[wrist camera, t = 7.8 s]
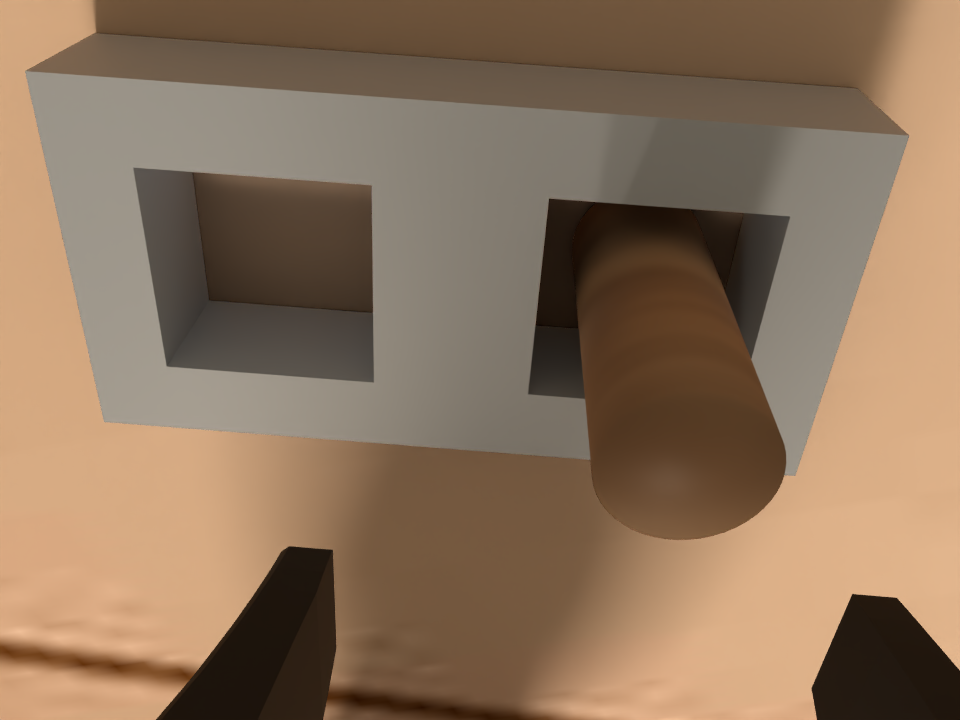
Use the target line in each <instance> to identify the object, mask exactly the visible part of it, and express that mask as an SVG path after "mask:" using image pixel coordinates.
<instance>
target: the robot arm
mask: <svg viewBox="0 0 960 720" xmlns="http://www.w3.org/2000/svg"><path fill="white" fill-rule="evenodd" d="M335 652H336V626H335V599H334V573H333V550H326V549H314V548H302V547H291V546H289V547H288V548H286V549H285V550H283V551H282V552H281V553H280V555H279V557H278V558H277V560H276V562H275V563H274V565H273V566H272V568H271V570H270V571H269V573H268V574H267V576H266V577H265V579H264V580H263V582H262V583H261V585H260V586H259V588H258V589H257V591H256V592H255V594H254V595H253V597H252V598H251V600H250V601H249V603H248V604H247V605H246V607H245V608H244V610H243V611H242V612H241V614H240V615H239V617H238V618H237V619H236V621H235V622H234V624H233V625H232V626H231V628H230V629H229V630H228V632H227V633H226V634H225V636H224V637H223V638H222V639H221V641H220V642H219V643H218V645H217V646H216V647H215V649H214V650H213V651H212V652H211V654H210V655H209V656H208V658H207V659H206V660H205V662H204V663H203V664H202V665H201V667H200V668H199V669H198V671H197V672H196V673H195V674H194V676H193V677H192V678H191V679H190V680H189V682H188V683H187V684H186V685H185V686H184V688H183V689H182V690H181V691H180V692H179V693H178V695H177V696H176V697H175V698H174V699H173V700H172V702H171V703H170V704H169V705H168V706H167V707H166V709H165V710H164V711H163V712H162V713H161V715H160V716H159V717H158V718H157V719H156V720H323V717H324V712H325V707H326V701H327V696H328V691H329V686H330V680H331V674H332V669H333V663H334V658H335ZM812 693H813V699H814V705H815V710H816V716H817V720H960V670H959V669H958V668H957V667H956V666H955V665H954V663H953V662H952V661H951V660H950V659H949V658H948V656H947V655H946V654H945V653H944V652H943V651H942V649H941V648H940V647H939V646H938V645H937V644H936V642H935V641H934V640H933V639H932V638H931V637H930V635H929V634H928V633H927V632H926V631H925V630H924V628H923V627H922V626H921V625H920V624H919V623H918V621H917V620H916V619H915V618H914V617H913V616H912V615H911V613H910V612H909V611H908V610H907V609H906V608H905V607H904V606H903V604H902V603H901V602H900V601H899V600H898V599H897V598H892V597H880V596H868V595H856V594H852V596H851V599H850V601H849V603H848V605H847V608H846V610H845V612H844V615H843V617H842V619H841V622H840V624H839V626H838V629H837V631H836V633H835V635H834V638H833V640H832V642H831V645H830V647H829V649H828V652H827V654H826V656H825V659H824V661H823V663H822V666H821V668H820V670H819V672H818V675H817V677H816V679H815V682H814V684H813V686H812Z"/></svg>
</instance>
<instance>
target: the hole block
mask: <svg viewBox="0 0 960 720" xmlns="http://www.w3.org/2000/svg"><path fill="white" fill-rule="evenodd" d="M25 73H26V77H27V82H28V86H29V91H30V95H31V100H32V104H33V108H34V113H35V117H36V122H37V126H38V131H39V135H40V140H41V144H42V148H43V153H44V157H45V162H46V166H47V171H48V175H49V179H50V184H51V188H52V193H53V197H54V202H55V206H56V211H57V215H58V219H59V224H60V228H61V233H62V237H63V242H64V246H65V250H66V255H67V259H68V264H69V268H70V273H71V277H72V282H73V286H74V290H75V295H76V299H77V304H78V308H79V313H80V317H81V321H82V326H83V330H84V335H85V339H86V344H87V348H88V353H89V357H90V361H91V366H92V370H93V375H94V379H95V384H96V388H97V392H98V397H99V401H100V406H101V410H102V415H103V419H104V422H111V423H124V424H137V425H150V426H162V427H175V428H188V429H201V430H214V431H227V432H239V433H252V434H265V435H278V436H291V437H303V438H316V439H329V440H342V441H355V442H368V443H380V444H393V445H406V446H419V447H432V448H445V449H457V450H470V451H483V452H496V453H509V454H521V455H534V456H547V457H560V458H573V459H586V460H590V449H589V438H588V426H587V415H586V404H585V393H584V382H583V370H582V359H581V348H580V337H579V329H578V328H564V327H551V326H538V325H535V324H536V315H537V306H538V296H539V287H540V278H541V268H542V259H543V250H544V240H545V231H546V222H547V213H548V203H549V199H563V200H576V201H589V202H603V203H616V204H630V205H643V206H657V207H670V208H684V209H697V210H710V211H724V212H737V213H744V215H743V219H742V223H741V228H740V232H739V236H738V240H737V244H736V248H735V252H734V257H733V261H732V265H731V269H730V273H729V277H728V281H727V286H726V290H725V293H726V296H727V298H728V301H729V304H730V306H731V309H732V311H733V314H734V316H735V319H736V322H737V324H738V327H739V329H740V332H741V334H742V337H743V339H744V342H745V345H746V347H747V350H748V352H749V355H750V357H751V360H752V363H753V365H754V368H755V370H756V373H757V375H758V378H759V380H760V383H761V386H762V388H763V391H764V393H765V396H766V398H767V401H768V404H769V406H770V409H771V411H772V414H773V416H774V419H775V421H776V424H777V427H778V429H779V432H780V434H781V437H782V439H783V442H784V445H785V450H786V469H785V474H784V475H791V476H795V475H796V472H797V469H798V466H799V463H800V460H801V457H802V454H803V451H804V448H805V445H806V442H807V439H808V436H809V433H810V430H811V427H812V424H813V421H814V418H815V415H816V412H817V409H818V406H819V403H820V400H821V397H822V394H823V391H824V388H825V386H826V383H827V380H828V377H829V374H830V371H831V368H832V365H833V362H834V359H835V356H836V353H837V350H838V347H839V344H840V341H841V338H842V335H843V332H844V329H845V326H846V323H847V320H848V317H849V314H850V311H851V308H852V305H853V302H854V299H855V296H856V293H857V290H858V287H859V284H860V281H861V278H862V275H863V272H864V269H865V266H866V263H867V260H868V257H869V254H870V251H871V248H872V245H873V243H874V240H875V237H876V234H877V231H878V228H879V225H880V222H881V219H882V216H883V213H884V210H885V207H886V204H887V201H888V198H889V195H890V192H891V189H892V186H893V183H894V180H895V177H896V174H897V171H898V168H899V165H900V162H901V159H902V156H903V153H904V150H905V147H906V144H907V141H908V138H909V135H908V134H907V133H906V132H905V131H904V130H902V129H901V128H900V127H899V126H898V125H897V124H896V123H895V122H894V121H893V120H892V119H890V118H889V117H888V116H887V115H886V114H885V113H884V112H883V111H882V110H881V109H879V108H878V107H877V106H876V105H875V104H874V103H873V102H872V101H871V100H870V99H868V98H867V97H866V96H865V95H864V94H863V93H862V92H861V91H860V90H859V89H857V88H846V87H832V86H819V85H805V84H791V83H777V82H763V81H750V80H736V79H722V78H708V77H694V76H681V75H667V74H653V73H639V72H625V71H612V70H598V69H584V68H570V67H556V66H543V65H529V64H515V63H501V62H487V61H474V60H460V59H446V58H432V57H418V56H405V55H391V54H377V53H363V52H349V51H336V50H322V49H308V48H294V47H280V46H267V45H253V44H239V43H225V42H211V41H198V40H184V39H170V38H156V37H142V36H129V35H115V34H101V33H94V34H92V35H90V36H89V37H87V38H85V39H83V40H81V41H79V42H78V43H76V44H74V45H72V46H70V47H68V48H67V49H65V50H63V51H61V52H59V53H57V54H56V55H54V56H52V57H50V58H48V59H46V60H45V61H43V62H41V63H39V64H37V65H35V66H34V67H32V68H30V69H28V70H26V71H25ZM193 172H199V173H213V174H226V175H240V176H253V177H267V178H280V179H294V180H307V181H320V182H334V183H347V184H361V185H372V258H373V313H367V312H354V311H341V310H328V309H315V308H302V307H289V306H276V305H262V304H249V303H236V302H223V301H210V300H209V296H208V288H207V280H206V272H205V265H204V257H203V249H202V242H201V234H200V226H199V218H198V211H197V203H196V195H195V188H194V180H193Z"/></svg>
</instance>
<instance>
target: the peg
mask: <svg viewBox="0 0 960 720" xmlns="http://www.w3.org/2000/svg"><path fill="white" fill-rule="evenodd" d="M572 258H573V269H574V281H575V292H576V303H577V314H578V326H579V337H580V348H581V359H582V370H583V382H584V393H585V404H586V415H587V426H588V438H589V449H590V460H591V471H592V480H593V486H594V489H595V492H596V495H597V497H598V498H599V500H600V502H601V504H602V505H603V506H604V508H605V509H606V510H607V511H608V512H609V513H610V514H611V515H612V516H613V517H614V518H615V519H616V520H618V521H619V522H621V523H622V524H623V525H625V526H627V527H629V528H631V529H632V530H635V531H637V532H640V533H642V534H646V535H649V536H653V537H658V538H663V539H673V540H689V539H698V538H704V537H709V536H714V535H717V534H720V533H724V532H726V531H729V530H731V529H733V528H736V527H737V526H739V525H741V524H743V523H745V522H747V521H748V520H750V519H751V518H753V517H754V516H755V515H757V514H758V513H759V512H760V511H761V510H762V509H764V507H765V506H766V505H767V504H768V503H769V502H770V501H771V500H772V498H773V497H774V495H775V494H776V493H777V491H778V489H779V487H780V485H781V483H782V480H783V477H784V474H785V469H786V450H785V445H784V442H783V439H782V437H781V434H780V432H779V429H778V427H777V424H776V421H775V419H774V416H773V414H772V411H771V409H770V406H769V404H768V401H767V398H766V396H765V393H764V391H763V388H762V386H761V383H760V380H759V378H758V375H757V373H756V370H755V368H754V365H753V363H752V360H751V357H750V355H749V352H748V350H747V347H746V345H745V342H744V339H743V337H742V334H741V332H740V329H739V327H738V324H737V322H736V319H735V316H734V314H733V311H732V309H731V306H730V304H729V301H728V298H727V296H726V293H725V291H724V288H723V286H722V283H721V280H720V278H719V275H718V273H717V270H716V268H715V265H714V263H713V260H712V257H711V255H710V252H709V250H708V247H707V245H706V242H705V239H704V237H703V234H702V232H701V229H700V227H699V224H698V222H697V219H696V217H695V216H694V214H693V212H692V211H691V210H690V209H684V208H670V207H657V206H643V205H630V204H616V203H603V202H597V203H596V204H594V205H593V206H592V207H591V208H590V209H589V210H588V211H587V212H586V214H585V215H584V216H583V218H582V219H581V221H580V222H579V224H578V226H577V229H576V231H575V234H574V238H573V244H572Z"/></svg>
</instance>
